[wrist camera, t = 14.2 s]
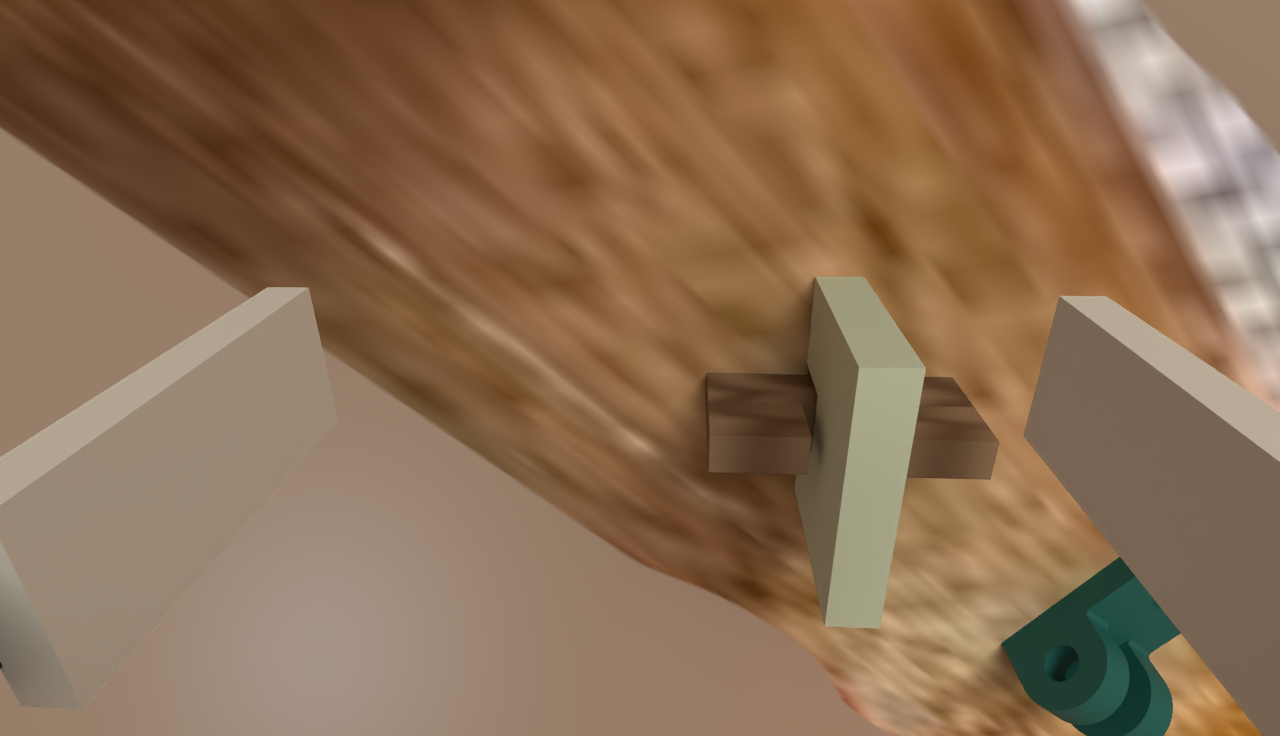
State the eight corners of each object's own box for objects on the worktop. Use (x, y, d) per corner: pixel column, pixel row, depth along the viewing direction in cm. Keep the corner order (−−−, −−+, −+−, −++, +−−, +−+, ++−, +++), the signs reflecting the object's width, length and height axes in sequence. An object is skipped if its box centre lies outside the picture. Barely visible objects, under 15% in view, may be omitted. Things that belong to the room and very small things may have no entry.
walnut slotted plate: (706, 406, 49) (708, 472, 42) (707, 373, 48) (710, 435, 41) (946, 411, 48) (990, 479, 41) (952, 377, 47) (999, 442, 40)
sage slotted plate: (836, 490, 52) (879, 628, 40) (794, 489, 52) (824, 626, 40) (864, 277, 45) (925, 368, 33) (815, 276, 45) (859, 367, 33)
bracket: (1059, 680, 59) (1110, 771, 51) (1000, 641, 57) (1044, 729, 50) (1263, 542, 52) (1353, 625, 45) (1201, 494, 50) (1285, 572, 43)
